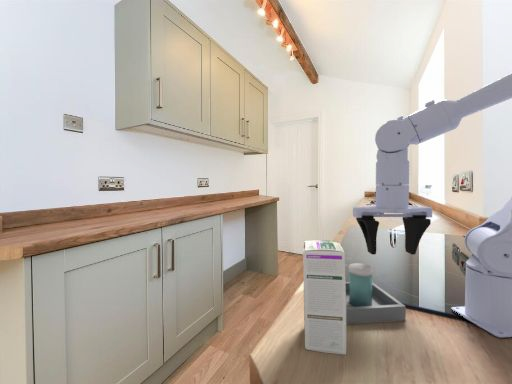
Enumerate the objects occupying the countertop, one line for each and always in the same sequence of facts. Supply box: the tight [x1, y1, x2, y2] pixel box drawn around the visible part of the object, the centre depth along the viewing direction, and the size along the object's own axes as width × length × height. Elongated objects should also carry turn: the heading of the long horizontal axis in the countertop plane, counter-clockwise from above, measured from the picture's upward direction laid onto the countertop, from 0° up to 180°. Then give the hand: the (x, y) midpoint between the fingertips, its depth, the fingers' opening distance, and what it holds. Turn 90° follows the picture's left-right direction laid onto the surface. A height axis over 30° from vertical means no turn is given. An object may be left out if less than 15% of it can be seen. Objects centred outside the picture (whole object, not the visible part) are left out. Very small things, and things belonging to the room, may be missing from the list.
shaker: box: [348, 262, 374, 307], centre depth 44 cm, size 4×4×7 cm
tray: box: [345, 281, 407, 325], centre depth 44 cm, size 10×10×2 cm
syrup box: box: [302, 239, 347, 356], centre depth 35 cm, size 6×6×14 cm
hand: (391, 253), depth 47 cm, fingers open, 7 cm apart
